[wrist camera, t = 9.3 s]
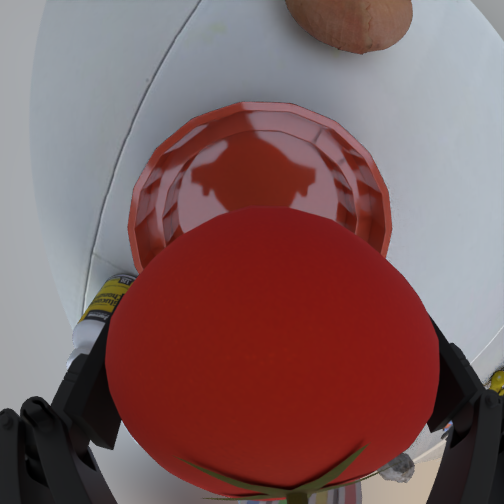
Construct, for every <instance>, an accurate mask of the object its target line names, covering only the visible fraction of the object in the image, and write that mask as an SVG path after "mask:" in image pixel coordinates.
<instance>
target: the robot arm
mask: <svg viewBox="0 0 504 504" xmlns="http://www.w3.org/2000/svg"><path fill="white" fill-rule="evenodd" d="M124 295H125V294H124V293H122V295H121V297H120V298H119V300H118V302H117V303H116V305H115V307H114V309H113V310H112V312H111V314H110V316H109V317H108V319H107V321H106V323H105V325H104V326H103V328H102V330H101V332H100V334H99V336H98V338H97V339H96V341H95V343H94V345H93V347H92V349H91V351H90V353H89V355H88V354H83V353H80V354H79V355H78V356H77V357H76V358H75V359H74V360H73V361H72V363H71V365H70V366H69V368H68V370H67V371H68V372H67V373H66V375H65V376H64V380H62V382H61V384H60V386H59V388H58V391H57V393H56V395H55V397H54V399H53V401H52V403H51V406H50V405H49V404H48V403H47V402H46V401H45V400H44V399H43V398H41V397H38V396H35V397H31V398H29V399H27V400H26V401H25V402H24V403H23V404H22V407H21V410H20V416H19V415H18V414H17V413H16V412H15V411H14V410H12V409H9V408H7V409H3V410H2V411H1V412H0V504H117V502H116V500H115V498H114V496H113V495H112V493H111V491H110V489H109V487H108V485H107V483H106V481H105V479H104V477H103V475H102V473H101V471H100V469H99V467H98V464H97V462H96V460H95V458H94V455H93V453H92V451H91V449H90V447H89V446H88V445H89V442H90V440H91V441H92V442H93V443H94V444H95V445H96V446H99V447H103V448H107V449H110V450H113V449H114V445H115V441H116V438H117V434H118V431H119V427H120V423H121V420H122V419H121V417H120V415H119V413H118V410H117V408H116V406H115V403H114V401H113V399H112V396H111V394H110V390H109V385H108V379H107V373H106V367H105V357H106V344H107V338H108V332H109V326H110V320H111V317H112V315H113V314H114V312H115V310H116V308H117V306H118V305H119V303H120V301H121V299H122V297H123V296H124ZM427 313H428V312H427ZM428 315H429V314H428ZM429 317H430V315H429ZM430 320H431V322H432V325H433V327H434V329H435V332H436V335H437V337H438V340H439V363H440V373H439V383H438V389H437V394H436V399H435V404H434V409H433V413H432V415H431V417H430V418H429V420H428V421H427V425H428V427H429V430H430V432H431V433H432V432H435V431H437V430H440V429H442V428H444V427H445V426H446V425H447V424H448V423H449V422H450V421H452V424H453V425H452V426H451V427H450V428H449V429H448V430H447V431H446V432H445V433H444V434H443V435H442V437H441V439H443V438H445V437H446V436H447V435H448V437H447V438H446V439H445V440H446V441H447V442H446V446H445V450H444V453H443V457H442V460H441V464H440V467H439V470H438V473H437V476H436V479H435V482H434V484H433V487H432V490H431V492H430V495H429V498H428V500H427V503H426V504H504V395H502V396H500V395H499V394H498V393H497V392H496V391H494V390H492V389H487V390H486V389H485V387H484V386H483V384H482V383H481V381H480V379H479V378H478V376H477V374H476V373H475V371H474V369H473V368H472V366H470V363H469V361H468V360H467V359H466V357H465V355H464V354H463V352H462V351H461V349H460V348H458V347H457V346H456V345H455V344H454V343H449V342H448V341H447V339H446V338H445V336H444V335H443V334H442V332H441V331H440V329H439V328H438V326H437V325H436V324H435V322H434V321H433V319H432V318H431V317H430Z"/></svg>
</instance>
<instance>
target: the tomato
mask: <svg viewBox="0 0 504 504" xmlns="http://www.w3.org/2000/svg"><path fill="white" fill-rule="evenodd" d="M105 367H106V373H107V379H108V385H109V390H110V394H111V396H112V399H113V401H114V403H115V406H116V408H117V410H118V413H119V415H120V417H121V419H122V421H123V423H124V425H125V426H126V428H127V430H128V431H129V433H130V434H131V435H132V437H133V438H134V439H135V440H136V441H137V442H138V444H139V445H140V446H141V447H142V448H143V449H144V450H145V451H146V452H147V453H148V454H149V455H150V456H151V457H152V458H153V459H154V460H155V461H156V462H157V463H158V464H159V465H160V466H162V467H163V468H164V469H166V470H167V471H168V472H170V473H172V474H173V475H175V476H177V477H178V478H180V479H182V480H184V481H186V482H189V483H191V484H193V485H195V486H197V487H200V488H202V489H204V490H207V491H209V492H212V493H215V494H218V495H222V496H226V497H230V498H206V499H217V500H251V501H275V500H285V499H286V500H287V504H308V498H310V497H311V495H312V494H314V493H319V492H323V491H328V490H332V489H336V488H340V487H344V486H348V485H352V484H355V483H357V482H360V481H362V480H365V479H367V478H369V477H371V476H373V475H376V474H378V473H380V472H382V471H384V470H386V469H388V468H390V467H392V466H394V465H396V464H398V463H400V462H402V461H400V462H398V463H396V464H394V465H392V466H390V467H388V468H386V469H384V470H382V471H379V472H377V473H375V474H372V475H370V476H368V477H365V476H367V475H369V474H371V473H373V472H374V471H376V470H378V469H379V468H380V467H382V466H384V465H385V464H387V463H388V462H390V461H391V460H392V459H394V458H395V457H397V456H398V455H400V454H401V453H402V452H404V451H405V450H407V449H408V448H409V447H410V446H411V444H412V443H413V442H414V441H415V439H416V438H417V436H418V435H419V434H420V432H421V431H422V429H423V428H424V426H425V424H426V423H427V421H428V420H429V418H430V417H431V415H432V413H433V409H434V404H435V399H436V394H437V389H438V383H439V373H440V363H439V340H438V337H437V335H436V332H435V329H434V327H433V325H432V322H431V320H430V317H429V315H428V313H427V311H426V309H425V307H424V305H423V303H422V301H421V299H420V297H419V296H418V295H417V293H416V292H415V290H414V289H413V288H412V287H411V285H410V284H409V283H408V281H407V280H406V279H405V277H404V276H403V275H402V274H401V273H400V272H399V271H398V270H397V269H396V268H395V267H394V266H393V265H391V264H390V263H389V262H388V261H387V260H386V259H385V258H384V257H383V256H382V255H381V254H380V253H379V252H378V251H376V250H375V249H374V248H373V247H372V246H371V245H369V244H368V243H367V242H366V241H365V240H363V239H362V238H361V237H359V236H357V235H356V234H354V233H353V232H351V231H350V230H348V229H346V228H345V227H343V226H342V225H340V224H338V223H337V222H335V221H333V220H332V219H329V218H326V217H322V216H319V215H315V214H311V213H308V212H304V211H301V210H297V209H293V208H290V207H286V206H258V205H250V206H247V207H244V208H240V209H237V210H234V211H230V212H227V213H224V214H221V215H218V216H216V217H214V218H212V219H210V220H208V221H206V222H205V223H203V224H201V225H199V226H197V227H195V228H194V229H192V230H190V231H188V232H186V233H184V234H183V235H181V236H179V237H178V238H176V239H175V240H174V241H173V242H172V243H171V244H169V245H168V246H167V247H166V248H165V249H163V250H162V251H161V252H160V253H159V254H158V255H157V256H155V257H154V258H153V259H152V260H151V262H150V263H149V264H148V265H147V266H146V267H145V269H144V270H143V271H142V272H141V273H140V275H139V276H138V277H137V278H136V279H135V281H134V282H133V283H132V285H131V286H130V288H129V289H128V290H127V292H126V293H125V295H124V296H123V297H122V299H121V301H120V303H119V305H118V306H117V308H116V310H115V312H114V314H113V315H112V317H111V320H110V326H109V332H108V338H107V344H106V357H105ZM405 460H406V459H405ZM403 461H404V460H403ZM362 477H365V478H363V479H360V478H362ZM358 479H360V480H358ZM355 480H357V481H355ZM353 481H354V482H353Z"/></svg>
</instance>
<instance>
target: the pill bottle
mask: <svg viewBox="0 0 504 504" xmlns="http://www.w3.org/2000/svg"><path fill="white" fill-rule="evenodd" d="M135 279H136V278H134V277H132V276H128V275H116V276H113V277H111V278H110V279H108V280H107V281H106V283H105V284H104V285H103V287H102V288H101V289H100V291H99V292H98V294H97V295H96V297H95V298H94V300H93V301H92V302H91V304H90V305H89V307H88V309H87V310H86V311H85V313H84V314H83V316H82V317H81V319H80V320H79V322H78V324H77V325H76V327H75V329H74V331H73V344H74V347H75V349H74V350H73V352H72V353H71V355H70V357H69V359H68V361H67V369H68V368H69V366H70V365H71V363H72V361H73V360H74V359H75V358H76V357H77V356H78V355H79V354H80V353H83V354H88V355H89V353H90V351H91V349H92V347H93V345H94V343H95V341H96V339H97V338H98V336H99V334H100V332H101V330H102V328H103V326H104V325H105V323H106V321H107V319H108V317H109V316H110V314H111V312H112V310H113V309H114V307H115V305H116V303H117V302H118V300H119V298H120V297H121V295H122V293H124V294H125V293H126V292H127V290H128V289H129V288H130V286H131V285H132V283H133V282H134V281H135Z"/></svg>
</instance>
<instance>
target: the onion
mask: <svg viewBox="0 0 504 504" xmlns="http://www.w3.org/2000/svg"><path fill="white" fill-rule="evenodd" d="M285 2H286V5H287V8H288V10H289V12H290V13H291V15H292V17H293V18H294V19H295V20H296V22H297V23H298V24H299V25H300V26H301V27H302V28H303V29H304V30H305V31H306V32H307V33H309V34H310V35H311V36H313V37H314V38H316V39H317V40H319V41H321V42H323V43H325V44H328V45H330V46H332V47H335V48H338V50H344V51H348V52H352V53H357V54H362V55H363V53H367V52H371V51H377V50H384V49H386V48H389V47H390V46H392V45H394V44H395V43H397V42H398V41H399V40H400V39H401V38H402V37H403V36H404V35H405V34H406V32H407V31H408V29H409V27H410V24H411V21H412V16H413V10H412V3H411V0H285Z"/></svg>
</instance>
